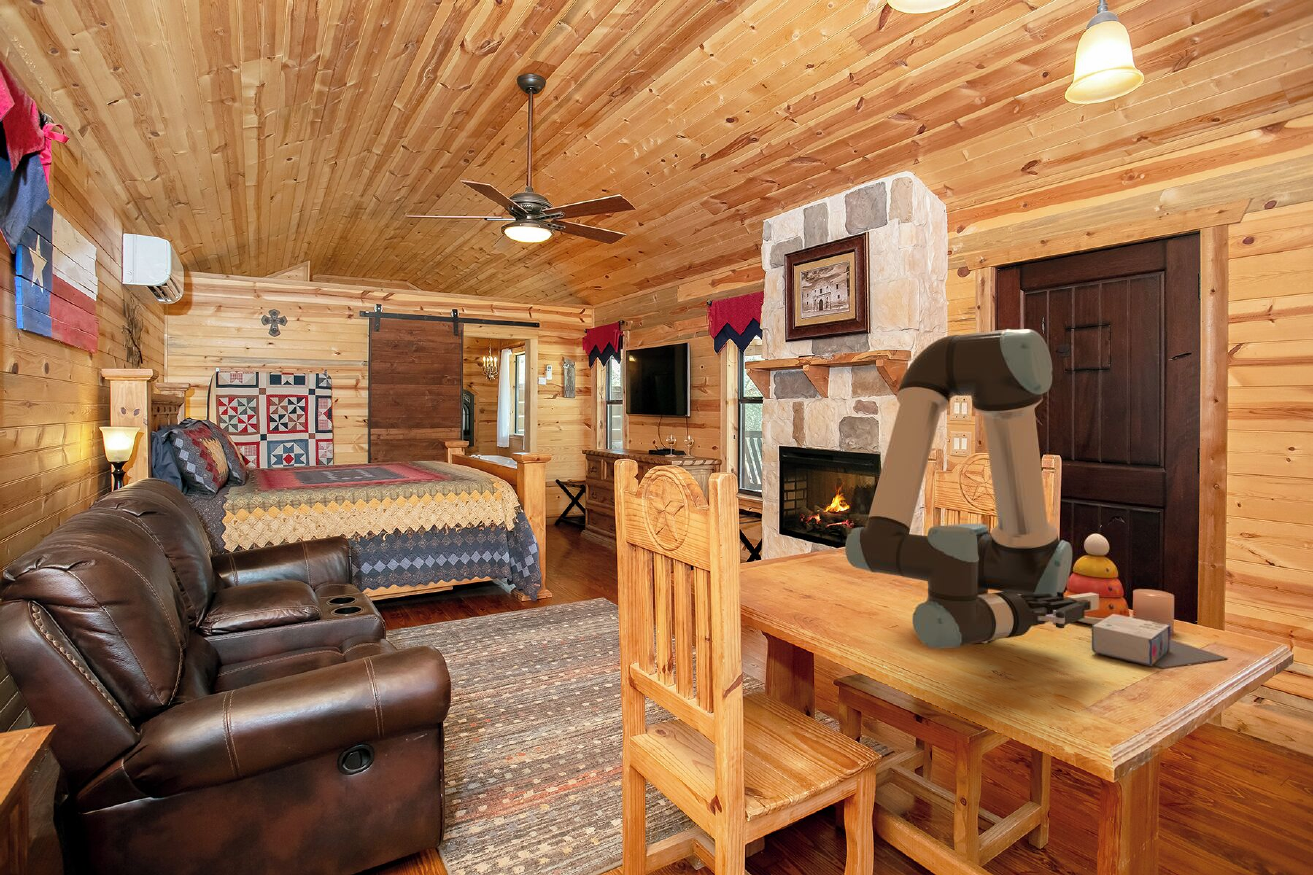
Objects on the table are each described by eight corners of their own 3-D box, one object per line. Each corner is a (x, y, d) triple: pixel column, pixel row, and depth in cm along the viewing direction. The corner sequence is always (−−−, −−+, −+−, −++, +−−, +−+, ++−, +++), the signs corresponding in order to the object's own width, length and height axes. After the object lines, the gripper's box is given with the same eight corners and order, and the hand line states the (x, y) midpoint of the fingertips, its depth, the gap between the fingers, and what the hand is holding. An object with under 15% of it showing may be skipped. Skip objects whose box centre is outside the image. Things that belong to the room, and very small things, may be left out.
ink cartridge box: (1152, 668, 121) (1174, 648, 130) (1153, 639, 120) (1175, 620, 129) (1090, 653, 128) (1115, 634, 137) (1091, 625, 128) (1116, 608, 137)
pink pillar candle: (1124, 626, 144) (1125, 590, 144) (1149, 623, 146) (1150, 588, 146) (1156, 637, 137) (1156, 599, 137) (1182, 633, 139) (1182, 596, 139)
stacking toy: (1098, 632, 141) (1098, 542, 140) (1042, 613, 154) (1042, 530, 154) (1148, 625, 145) (1149, 537, 144) (1090, 607, 158) (1090, 527, 158)
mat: (1102, 646, 132) (1102, 645, 132) (1164, 638, 136) (1164, 637, 136) (1162, 668, 121) (1162, 667, 121) (1227, 659, 125) (1227, 657, 125)
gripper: (966, 626, 118) (1061, 611, 127) (1030, 649, 106) (1131, 631, 114) (967, 584, 118) (1062, 572, 126) (1031, 603, 106) (1131, 588, 114)
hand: (1094, 600), depth 120 cm, fingers closed
